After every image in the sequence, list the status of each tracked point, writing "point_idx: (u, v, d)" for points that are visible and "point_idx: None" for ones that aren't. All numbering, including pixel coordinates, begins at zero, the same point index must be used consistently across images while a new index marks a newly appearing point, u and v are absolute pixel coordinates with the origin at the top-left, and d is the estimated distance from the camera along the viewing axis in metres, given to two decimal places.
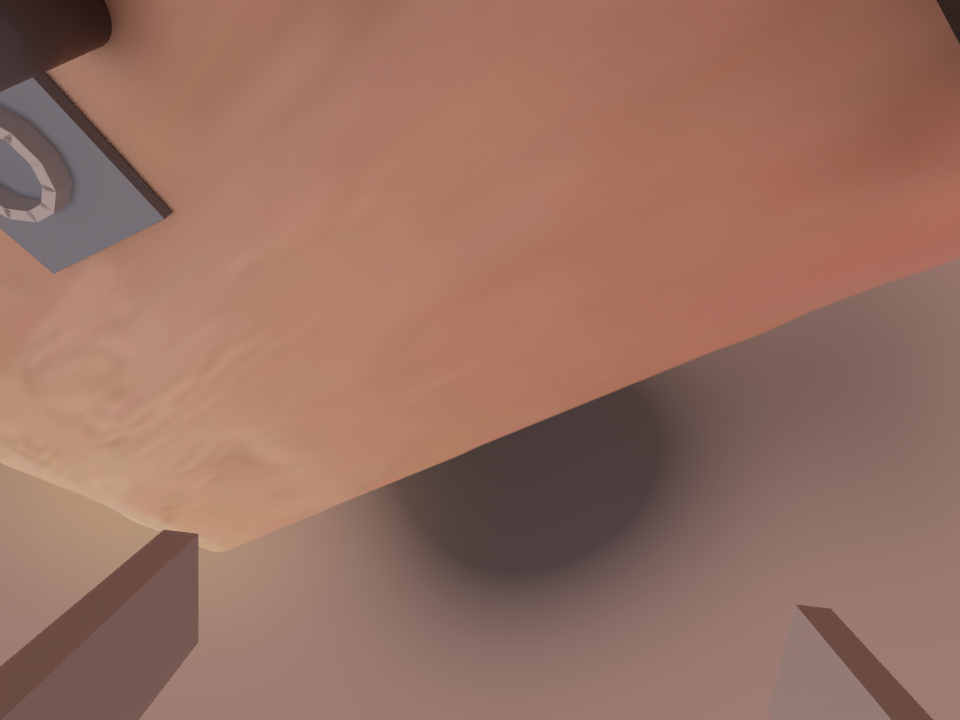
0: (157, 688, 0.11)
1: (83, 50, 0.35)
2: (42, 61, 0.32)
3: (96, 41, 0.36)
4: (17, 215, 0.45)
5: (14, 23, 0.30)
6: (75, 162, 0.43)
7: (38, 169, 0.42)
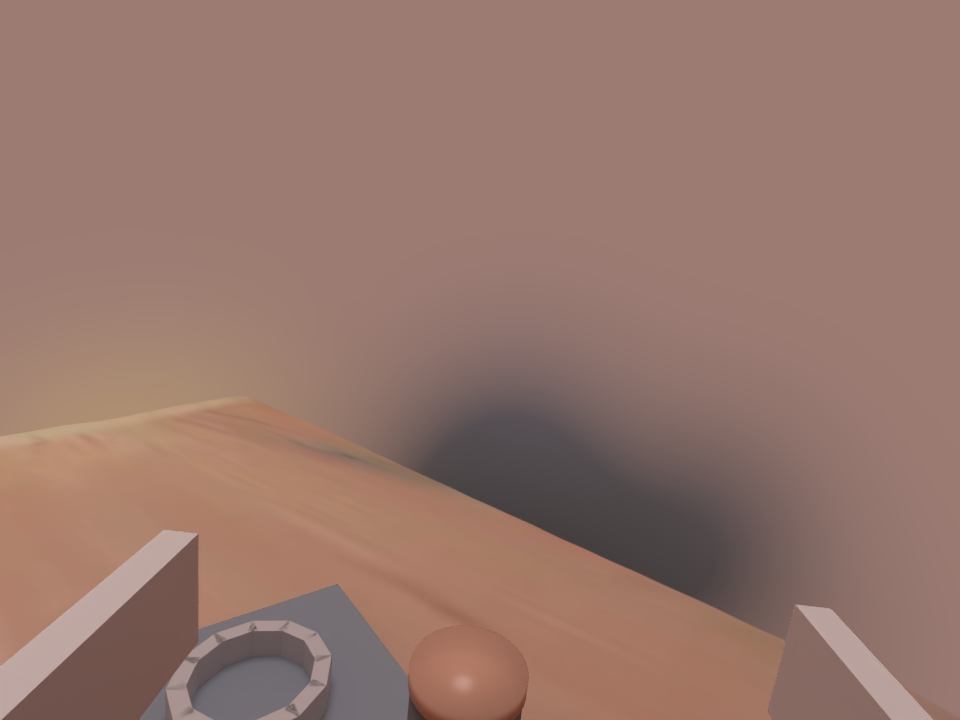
0: (157, 688, 0.11)
1: None
2: None
3: None
4: (184, 668, 0.32)
5: None
6: None
7: None
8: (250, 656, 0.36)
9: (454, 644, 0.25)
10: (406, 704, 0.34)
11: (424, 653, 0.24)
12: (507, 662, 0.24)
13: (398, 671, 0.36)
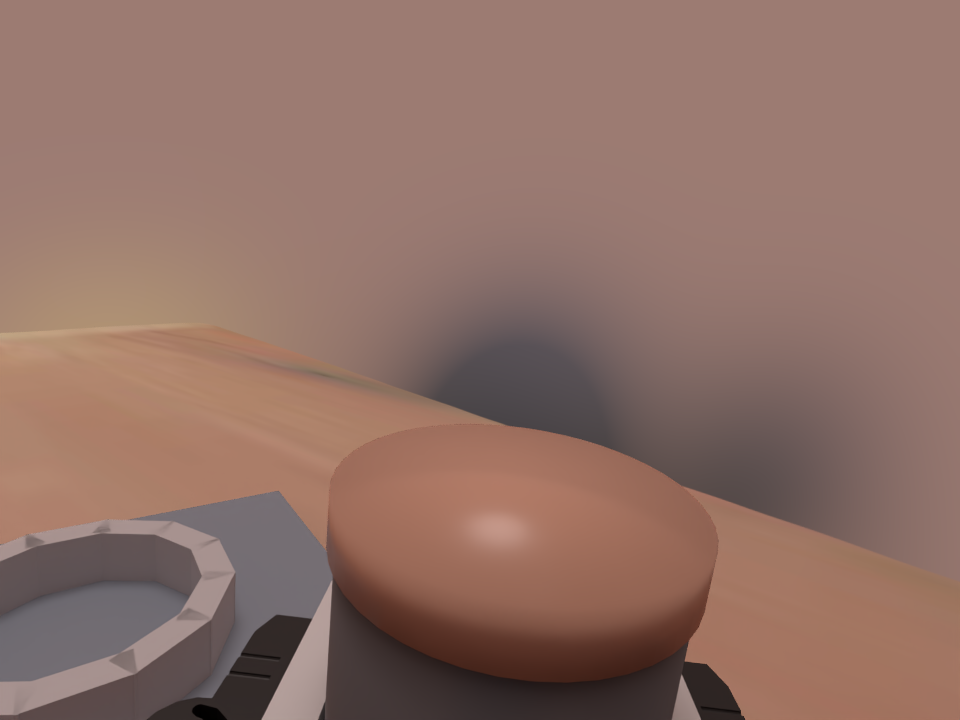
0: None
1: None
2: None
3: None
4: None
5: None
6: None
7: (2, 697, 0.13)
8: (99, 580, 0.21)
9: (472, 449, 0.09)
10: None
11: (384, 457, 0.08)
12: (630, 484, 0.08)
13: None
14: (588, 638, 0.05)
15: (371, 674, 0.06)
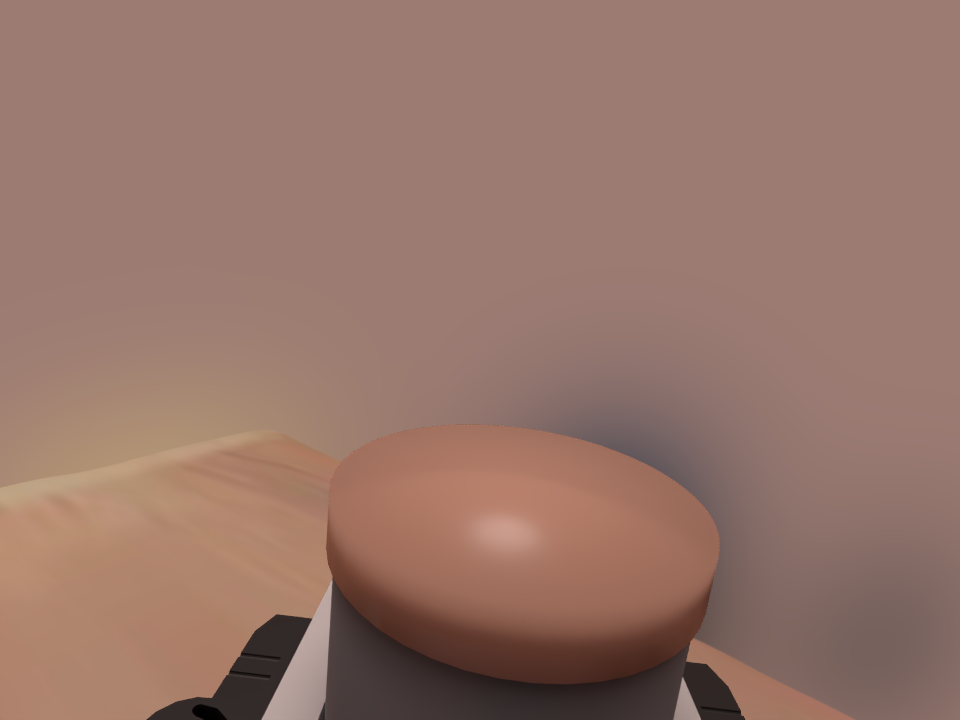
0: None
1: None
2: None
3: None
4: None
5: None
6: None
7: None
8: None
9: (473, 448, 0.09)
10: None
11: (384, 457, 0.08)
12: (631, 484, 0.08)
13: None
14: (589, 639, 0.05)
15: (370, 675, 0.06)
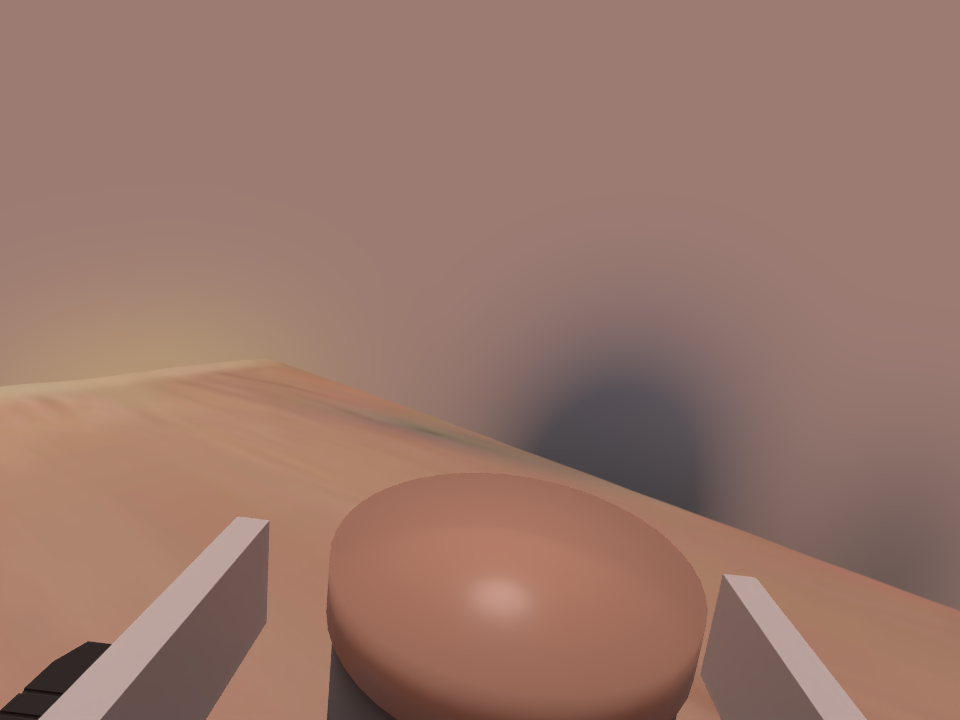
0: (237, 662, 0.11)
1: None
2: None
3: None
4: None
5: None
6: None
7: None
8: None
9: (469, 503, 0.09)
10: None
11: (383, 515, 0.08)
12: (623, 543, 0.08)
13: None
14: None
15: None
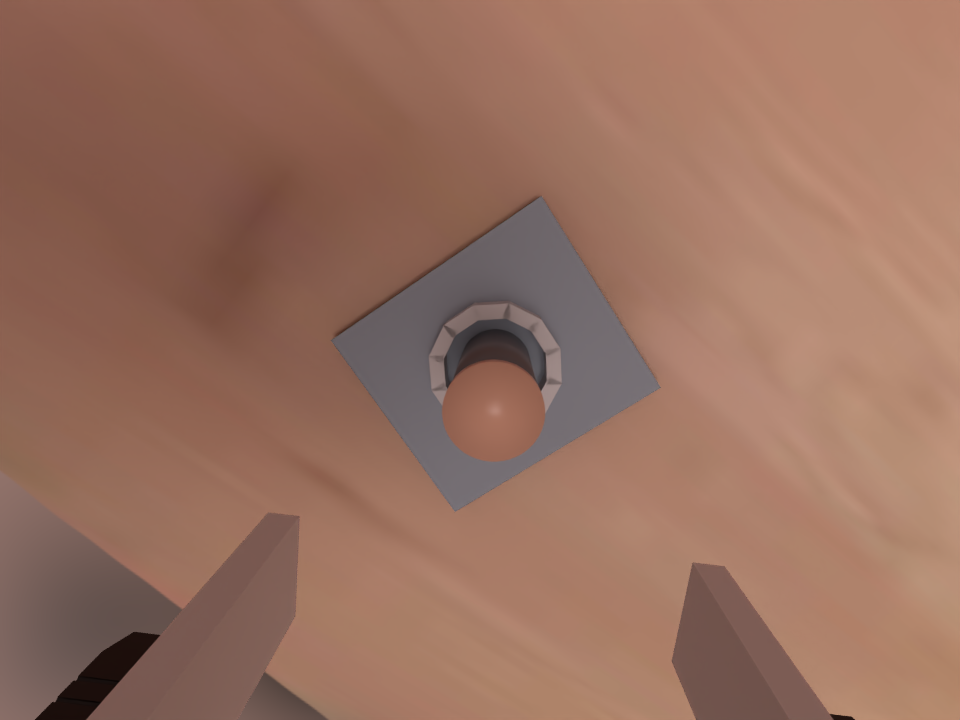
0: (270, 654, 0.12)
1: (519, 344, 0.36)
2: (513, 350, 0.32)
3: (515, 338, 0.37)
4: (554, 371, 0.37)
5: (475, 352, 0.31)
6: (484, 287, 0.38)
7: (483, 312, 0.36)
8: None
9: (505, 437, 0.27)
10: (365, 361, 0.39)
11: (532, 426, 0.27)
12: (459, 418, 0.27)
13: (376, 396, 0.39)
14: (487, 361, 0.27)
15: (527, 372, 0.28)
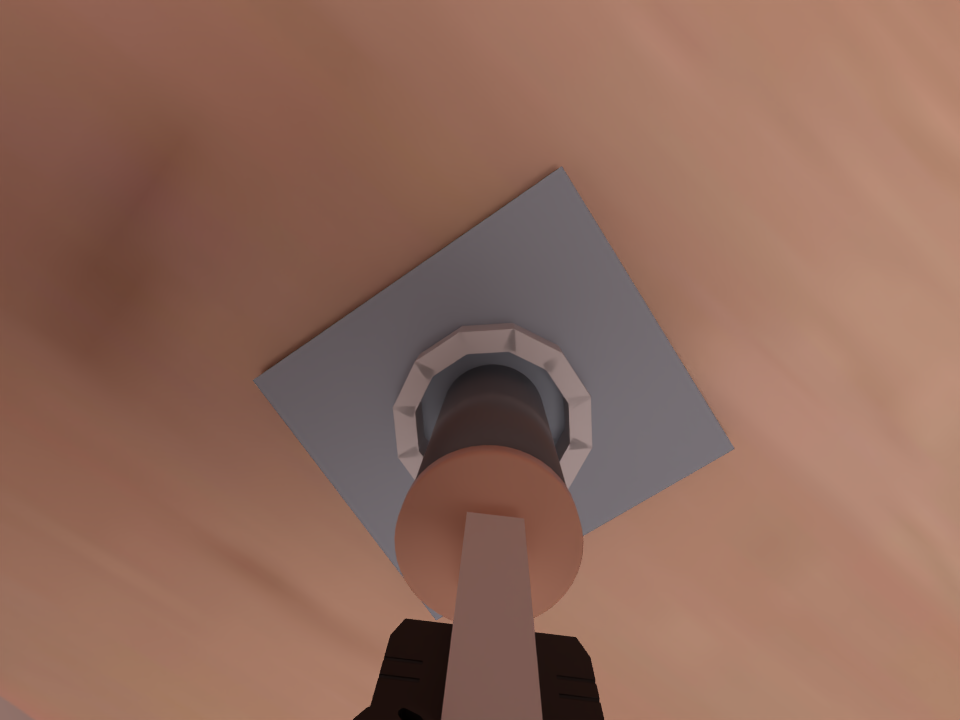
0: None
1: (530, 391, 0.23)
2: (522, 411, 0.19)
3: (523, 380, 0.25)
4: (581, 429, 0.24)
5: (459, 417, 0.19)
6: (476, 303, 0.25)
7: (474, 343, 0.24)
8: None
9: None
10: (303, 410, 0.27)
11: (559, 569, 0.15)
12: (426, 554, 0.15)
13: (320, 460, 0.27)
14: (476, 452, 0.15)
15: (549, 463, 0.16)
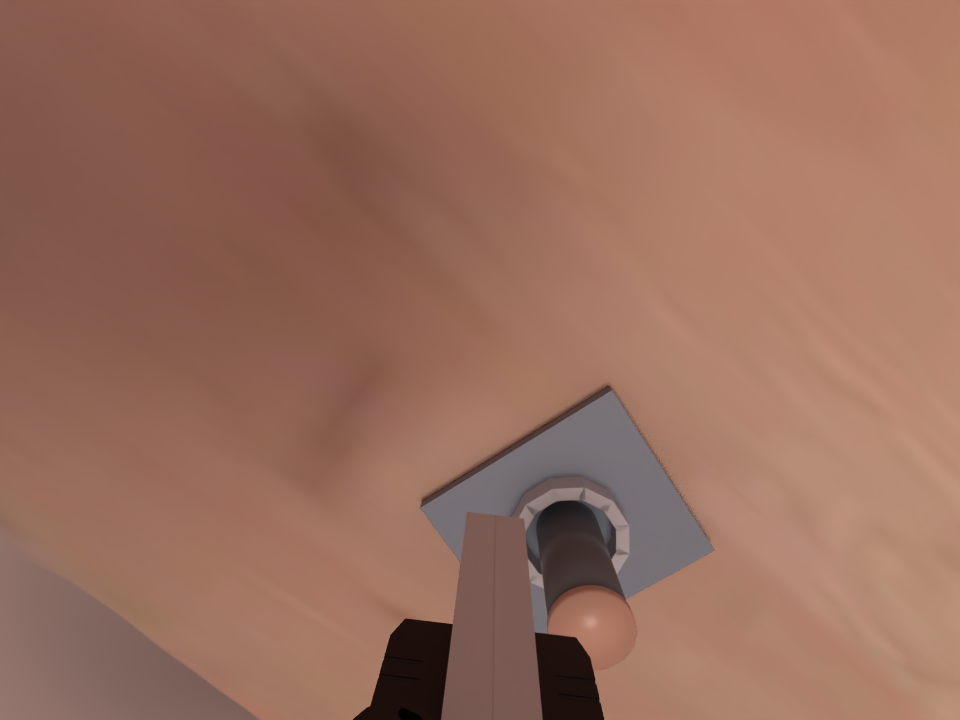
0: None
1: (594, 524, 0.40)
2: (597, 549, 0.36)
3: (588, 514, 0.41)
4: (623, 543, 0.41)
5: (566, 556, 0.35)
6: (559, 465, 0.42)
7: (561, 494, 0.41)
8: None
9: (601, 652, 0.32)
10: (450, 525, 0.44)
11: (625, 643, 0.32)
12: None
13: (459, 555, 0.44)
14: (587, 590, 0.31)
15: (618, 590, 0.33)
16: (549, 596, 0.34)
